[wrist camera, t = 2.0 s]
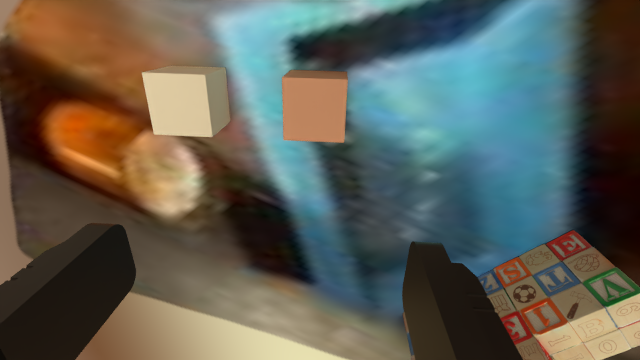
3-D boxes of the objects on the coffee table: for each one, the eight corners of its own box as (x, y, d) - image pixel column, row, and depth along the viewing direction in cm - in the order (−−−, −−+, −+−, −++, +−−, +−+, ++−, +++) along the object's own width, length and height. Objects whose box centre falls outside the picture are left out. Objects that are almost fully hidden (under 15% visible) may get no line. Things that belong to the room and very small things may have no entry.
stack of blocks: (572, 226, 34) (683, 321, 23) (595, 264, 36) (708, 369, 25) (400, 313, 41) (422, 419, 30) (427, 341, 43) (457, 451, 32)
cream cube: (225, 67, 30) (205, 74, 25) (230, 121, 32) (212, 137, 27) (171, 65, 30) (141, 72, 25) (180, 119, 32) (154, 134, 27)
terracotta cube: (346, 71, 29) (347, 79, 25) (343, 126, 31) (343, 142, 27) (291, 69, 29) (282, 77, 25) (291, 123, 32) (283, 140, 27)
